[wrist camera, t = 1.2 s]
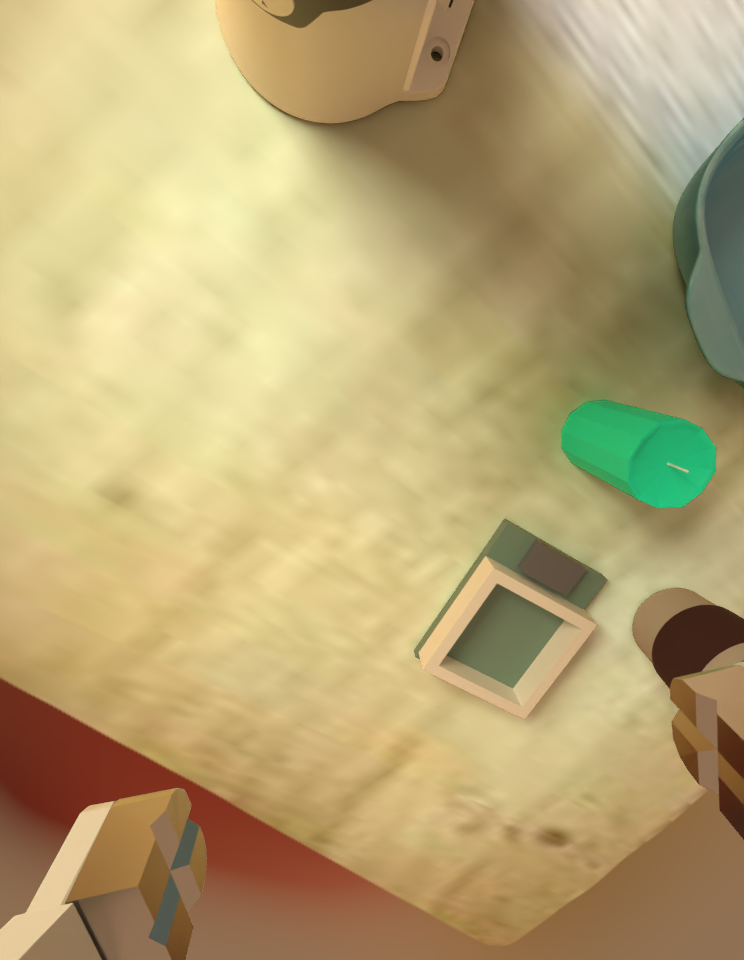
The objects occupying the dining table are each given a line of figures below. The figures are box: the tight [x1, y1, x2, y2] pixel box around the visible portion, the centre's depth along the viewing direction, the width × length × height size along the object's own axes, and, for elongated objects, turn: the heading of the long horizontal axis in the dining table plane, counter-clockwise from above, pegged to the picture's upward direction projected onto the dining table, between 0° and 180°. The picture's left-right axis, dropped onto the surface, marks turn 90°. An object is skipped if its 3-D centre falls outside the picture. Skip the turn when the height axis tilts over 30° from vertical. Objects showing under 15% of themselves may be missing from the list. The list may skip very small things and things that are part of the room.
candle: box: [562, 400, 716, 508], centre depth 38 cm, size 6×6×12 cm
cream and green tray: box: [414, 519, 607, 720], centre depth 46 cm, size 15×11×4 cm
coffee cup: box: [632, 588, 744, 688], centre depth 42 cm, size 10×10×15 cm
